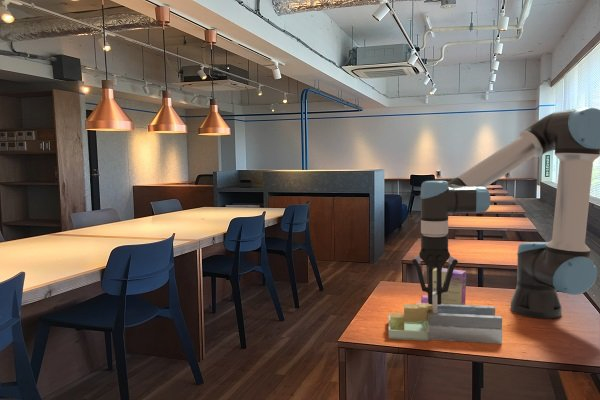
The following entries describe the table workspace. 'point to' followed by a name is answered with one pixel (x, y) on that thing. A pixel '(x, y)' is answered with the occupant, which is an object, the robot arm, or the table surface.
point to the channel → (465, 324)
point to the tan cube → (411, 313)
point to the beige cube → (424, 311)
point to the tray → (411, 331)
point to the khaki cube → (396, 321)
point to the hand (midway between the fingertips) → (434, 315)
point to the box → (453, 287)
